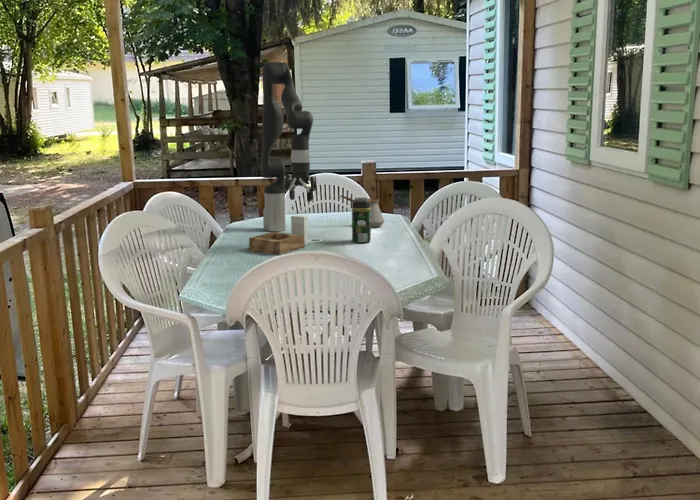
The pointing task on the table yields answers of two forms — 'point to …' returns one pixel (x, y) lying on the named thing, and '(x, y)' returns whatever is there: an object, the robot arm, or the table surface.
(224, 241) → the table surface
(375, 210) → the coffee pot
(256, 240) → the holder
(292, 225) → the skincare box
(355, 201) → the coffee jar
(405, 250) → the table surface
